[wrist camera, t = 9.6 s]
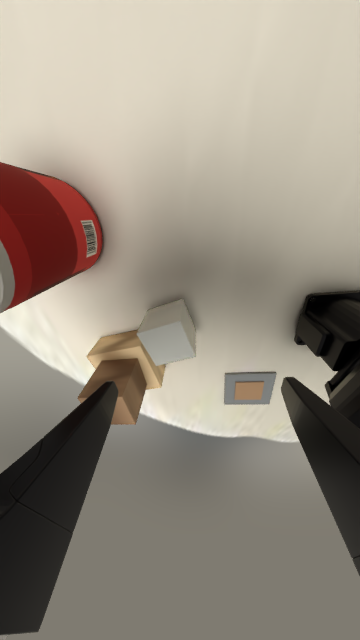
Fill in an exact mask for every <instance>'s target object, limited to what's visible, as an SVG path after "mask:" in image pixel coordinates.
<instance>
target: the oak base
mask: <svg viewBox="0 0 360 640" xmlns="http://www.w3.org/2000/svg"><path fill="white" fill-rule="evenodd" d="M137 332H138V330H134V331H130V332H125V333H120V334H116V335H111V336H106V337H102V338H100V339H99V341H98V342H97V343H96V344H95V346H94V347H93V348H92V350H91V351H90V352H89V354H88V355H87V356H86V357H87V358H88V360H89V361H90V362H91V364H92V365H93V366H94V368H95V369H97V367H98V365H99V364H100V362H101V361H102V360H118V359H134V358H138V361H139V363H140V366H141V369H142V372H143V374H144V377H145V380H146V383H147V387H146V389H154V388H161V386H162V381H163V376H164V371H165V364H163V365H159V366H156V365H155V363H154V362H153V360H152V358H151V357H150V355H149V354H148V352H147V350H146V349H145V347H144V345H143V344H142V342H141V340H140V339H139V337H138V336H137Z"/></svg>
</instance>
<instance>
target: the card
mask: <svg viewBox="0 0 360 640" xmlns="http://www.w3.org/2000/svg"><path fill="white" fill-rule="evenodd" d="M275 378H276V372H253V373H225V393H224V404H269V403H270V399H271V395H272V390H273V386H274V382H275Z"/></svg>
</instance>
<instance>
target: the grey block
mask: <svg viewBox="0 0 360 640" xmlns="http://www.w3.org/2000/svg"><path fill="white" fill-rule="evenodd" d="M137 336H138V337H139V339H140V340H141V342H142V344H143V345H144V347H145V349H146V350H147V352H148V354H149V355H150V357H151V358H152V360H153V362H154V363H155V365H156V366H159V365H163V364H167V363H171V362H176V361H180V360H184V359H188V358H193V357H196V330H195V327H194V325H193V322H192V320H191V317H190V315H189V312H188V310H187V307H186V305H185V302H184V300H183V299H180V300H177V301H174V302H171V303H168V304H165V305H162V306H159V307H155V308H152V309H149V310H148V311H147V313H146V315H145V317H144V319H143V321H142V323H141V325H140V327H139V329H138V332H137Z"/></svg>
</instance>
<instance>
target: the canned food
mask: <svg viewBox="0 0 360 640" xmlns="http://www.w3.org/2000/svg"><path fill="white" fill-rule="evenodd" d="M102 242H103V241H102V231H101V227H100V224H99V221H98V219H97V216H96V214H95V213H94V211H93V209H92V207H91V206H90V205H89V203H88V202H87V201H86V199H85V198H83V197H82V196H81V195H80V194H79V193H78V192H77V191H76V190H75V189H74V188H72V187H71V186H69V185H68V184H67V183H65V182H63V181H61V180H59V179H57V178H55V177H51V176H48V175H44V174H40V173H37V172H33V171H30V170H26V169H23V168H19V167H15V166H12V165H8V164H5V163H1V162H0V313H2V312H4V311H6V310H8V309H10V308H12V307H14V306H16V305H18V304H20V303H22V302H24V301H26V300H28V299H30V298H32V297H34V296H36V295H38V294H40V293H42V292H44V291H46V290H48V289H50V288H52V287H54V286H55V285H57V284H59V283H61V282H63V281H65V280H67V279H69V278H71V277H73V276H75V275H77V274H79V273H81V272H83V271H85V270H87V269H89V268H90V267H91V266H92V265H94V264H95V262H96V260H97V259H98V257H99V255H100V252H101V249H102Z"/></svg>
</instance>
